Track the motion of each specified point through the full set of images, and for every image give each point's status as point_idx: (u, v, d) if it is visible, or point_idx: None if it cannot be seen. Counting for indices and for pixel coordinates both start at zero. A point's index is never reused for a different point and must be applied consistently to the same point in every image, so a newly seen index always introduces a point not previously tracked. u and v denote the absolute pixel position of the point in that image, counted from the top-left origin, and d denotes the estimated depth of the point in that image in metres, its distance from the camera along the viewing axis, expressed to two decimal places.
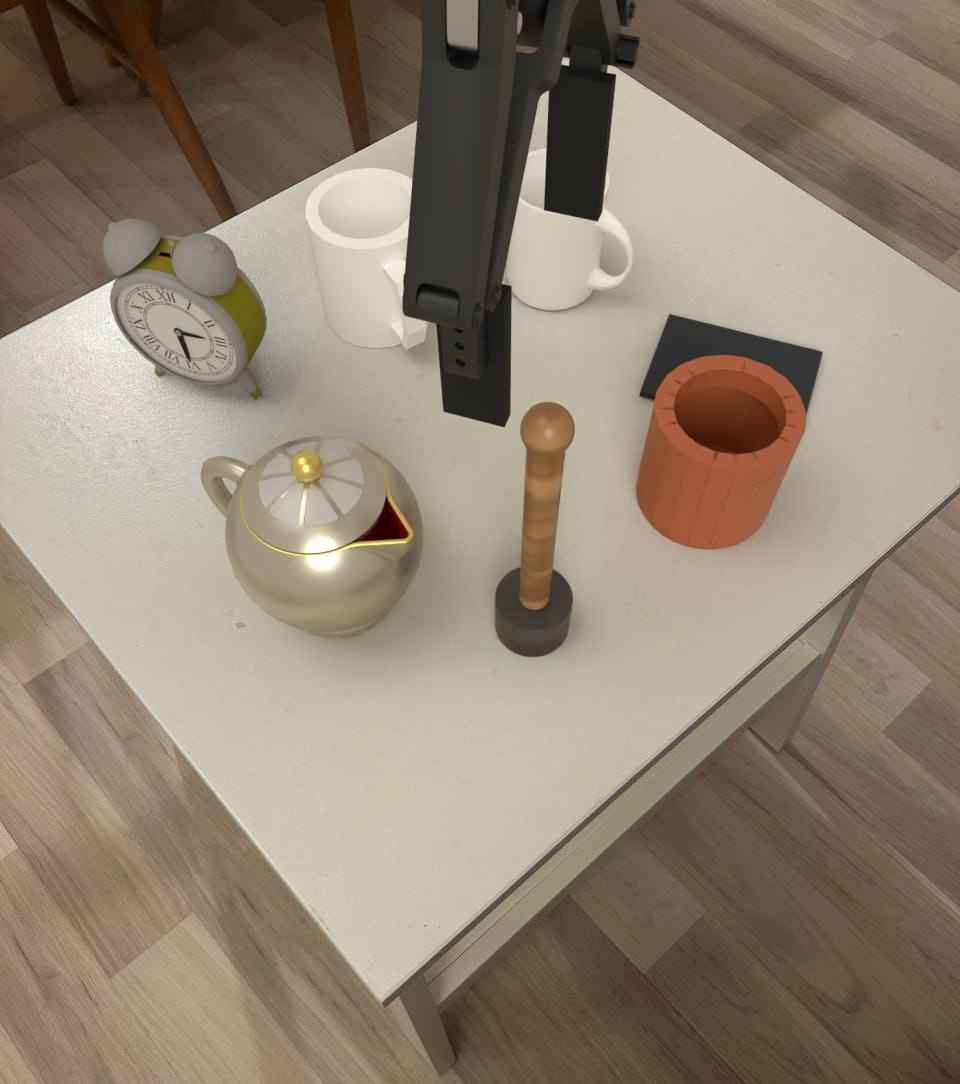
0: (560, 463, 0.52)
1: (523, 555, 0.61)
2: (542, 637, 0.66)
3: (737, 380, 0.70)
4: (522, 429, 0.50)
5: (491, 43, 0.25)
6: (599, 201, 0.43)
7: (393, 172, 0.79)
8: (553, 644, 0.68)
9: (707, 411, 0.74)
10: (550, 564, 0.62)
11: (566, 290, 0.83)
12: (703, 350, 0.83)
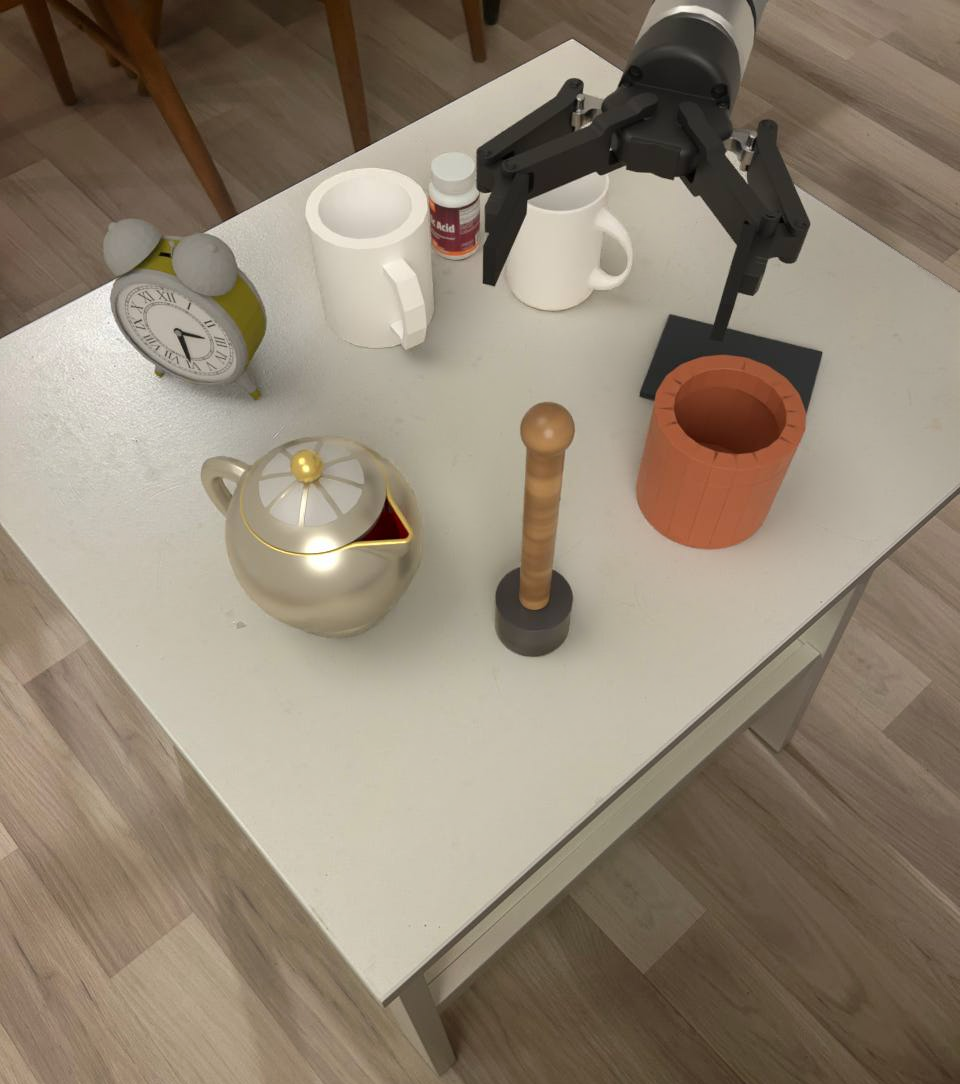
0: (560, 463, 0.52)
1: (523, 555, 0.61)
2: (542, 637, 0.66)
3: (737, 380, 0.70)
4: (522, 429, 0.50)
5: None
6: (725, 289, 0.51)
7: (393, 172, 0.79)
8: (553, 644, 0.68)
9: (707, 411, 0.74)
10: (550, 564, 0.62)
11: (566, 290, 0.83)
12: (703, 350, 0.83)
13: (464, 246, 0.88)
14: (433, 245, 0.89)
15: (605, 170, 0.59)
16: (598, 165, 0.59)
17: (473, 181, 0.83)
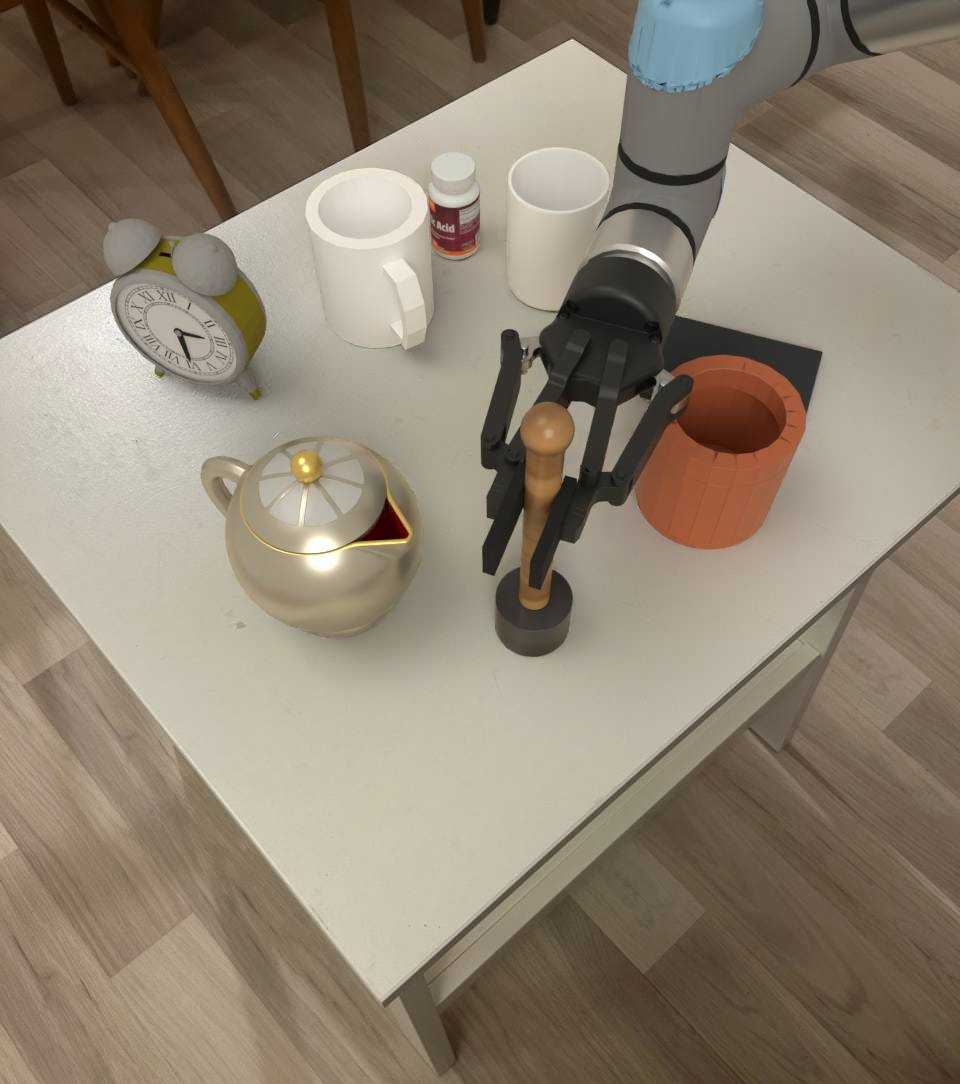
0: (560, 463, 0.52)
1: (523, 555, 0.61)
2: (542, 637, 0.66)
3: (737, 380, 0.70)
4: (522, 429, 0.50)
5: (502, 351, 0.61)
6: (536, 547, 0.53)
7: (393, 172, 0.79)
8: (553, 644, 0.68)
9: (707, 411, 0.74)
10: None
11: (566, 290, 0.83)
12: (703, 350, 0.83)
13: (464, 246, 0.88)
14: (433, 245, 0.89)
15: (566, 408, 0.61)
16: None
17: (473, 181, 0.83)
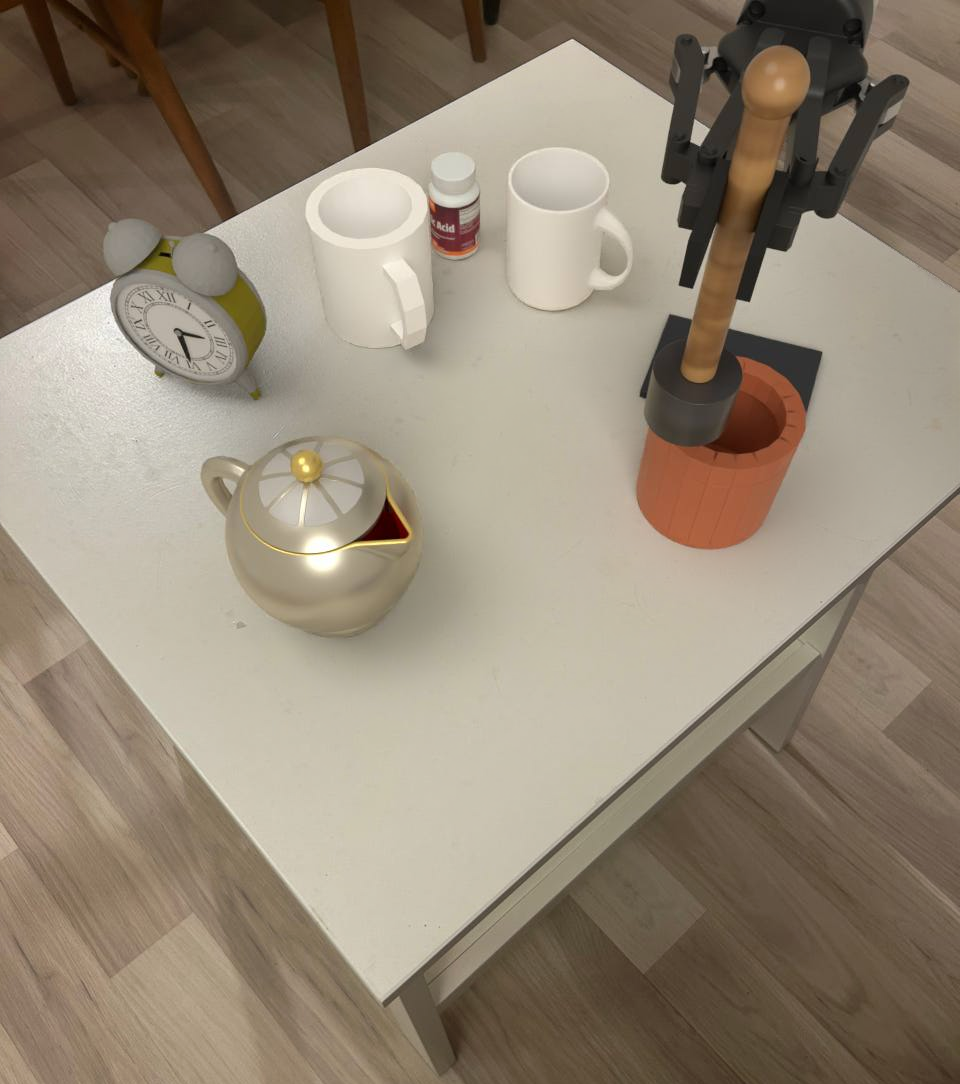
0: (783, 135, 0.44)
1: (703, 297, 0.53)
2: (709, 415, 0.58)
3: None
4: (748, 79, 0.42)
5: (679, 57, 0.52)
6: (753, 240, 0.44)
7: (393, 172, 0.79)
8: (716, 430, 0.60)
9: None
10: (732, 310, 0.53)
11: (566, 290, 0.83)
12: None
13: (464, 246, 0.88)
14: (433, 245, 0.89)
15: None
16: None
17: (473, 181, 0.83)
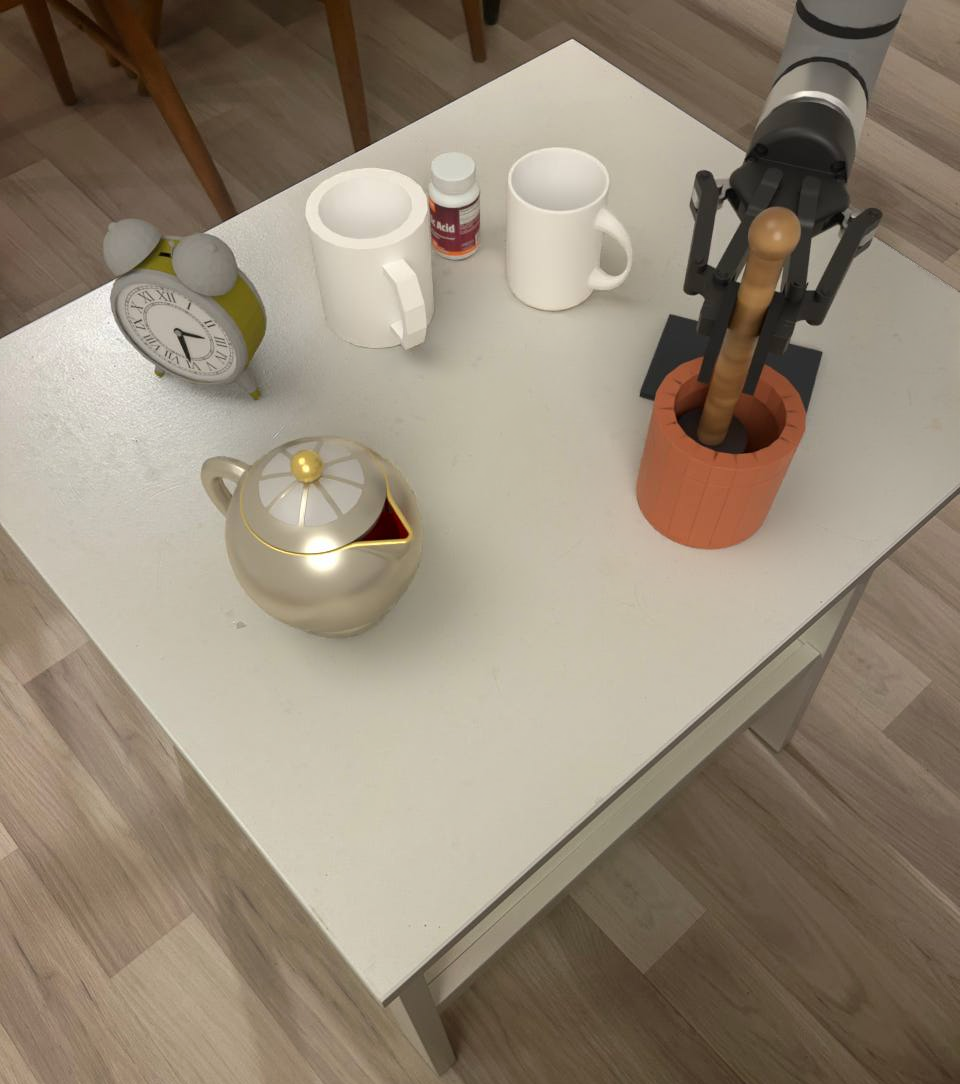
0: (780, 270, 0.57)
1: (716, 382, 0.65)
2: None
3: None
4: (753, 232, 0.55)
5: (698, 190, 0.65)
6: (756, 350, 0.57)
7: (393, 172, 0.79)
8: None
9: None
10: (739, 392, 0.66)
11: (566, 290, 0.83)
12: (703, 350, 0.83)
13: (464, 246, 0.88)
14: (433, 245, 0.89)
15: None
16: None
17: (473, 181, 0.83)
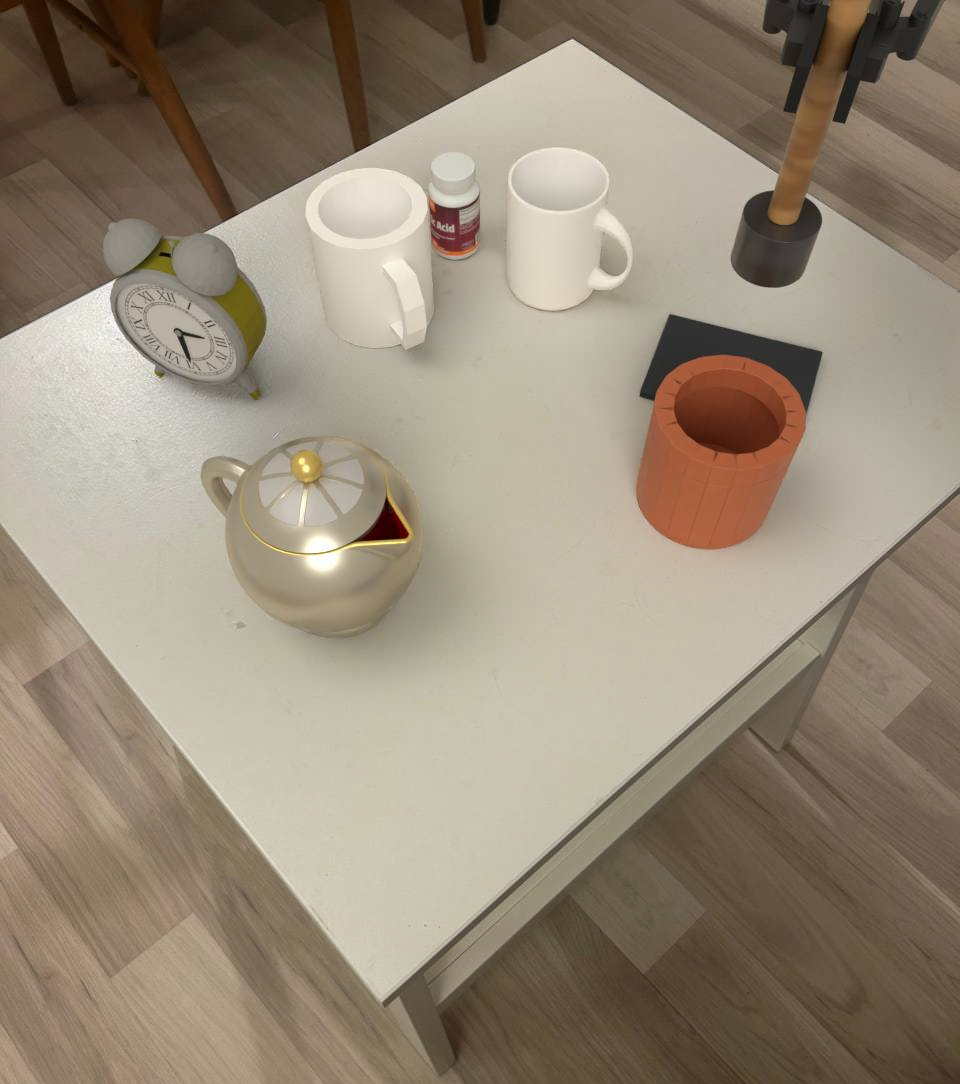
0: None
1: (795, 137, 0.61)
2: (792, 253, 0.66)
3: (737, 380, 0.70)
4: None
5: None
6: (851, 65, 0.52)
7: (393, 172, 0.79)
8: (797, 271, 0.68)
9: (707, 411, 0.74)
10: (820, 150, 0.61)
11: (566, 290, 0.83)
12: (703, 350, 0.83)
13: (464, 246, 0.88)
14: (433, 245, 0.89)
15: None
16: None
17: (473, 181, 0.83)
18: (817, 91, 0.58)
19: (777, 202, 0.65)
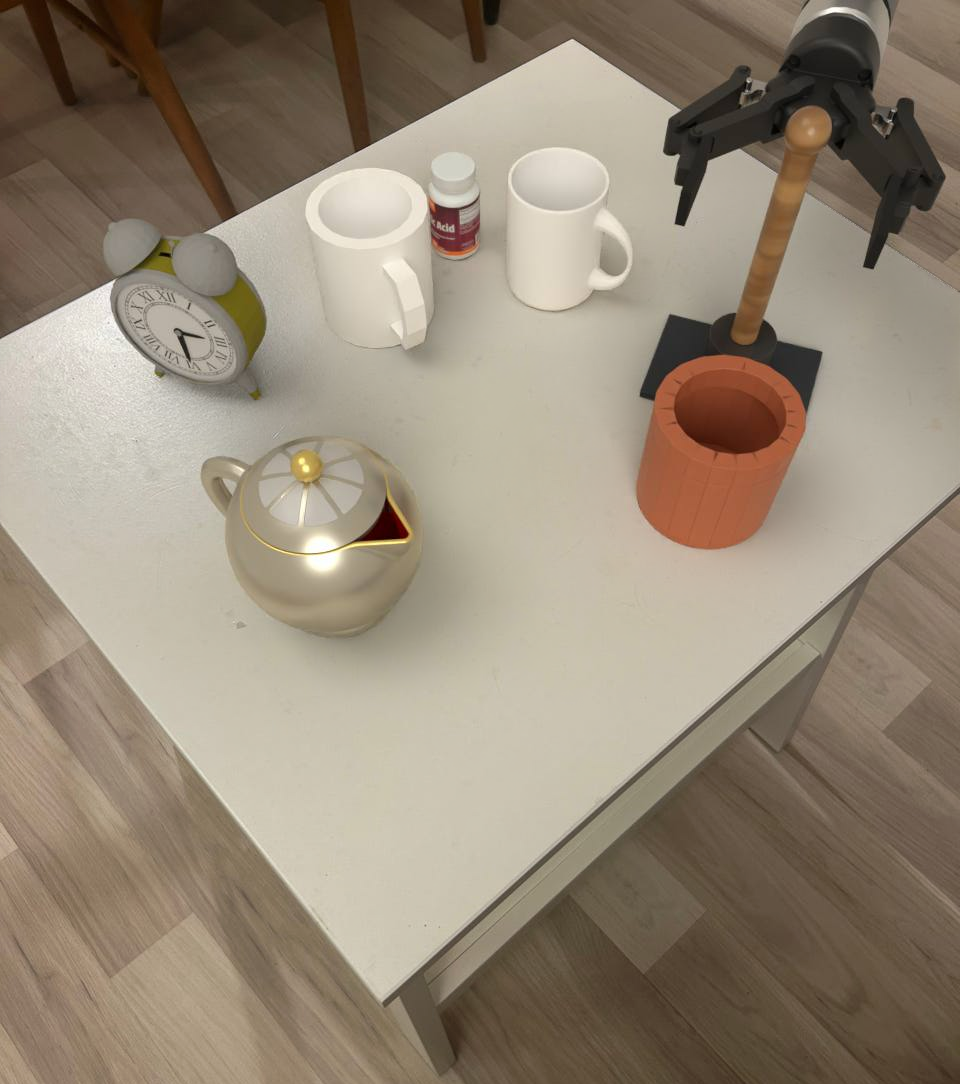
0: (812, 166, 0.63)
1: (751, 279, 0.72)
2: None
3: (737, 380, 0.70)
4: (789, 128, 0.61)
5: None
6: (879, 225, 0.63)
7: (393, 172, 0.79)
8: None
9: (707, 411, 0.74)
10: (772, 289, 0.73)
11: (566, 290, 0.83)
12: (703, 350, 0.83)
13: (464, 246, 0.88)
14: (433, 245, 0.89)
15: (767, 140, 0.72)
16: (763, 134, 0.72)
17: (473, 181, 0.83)
18: (767, 247, 0.69)
19: (738, 327, 0.76)
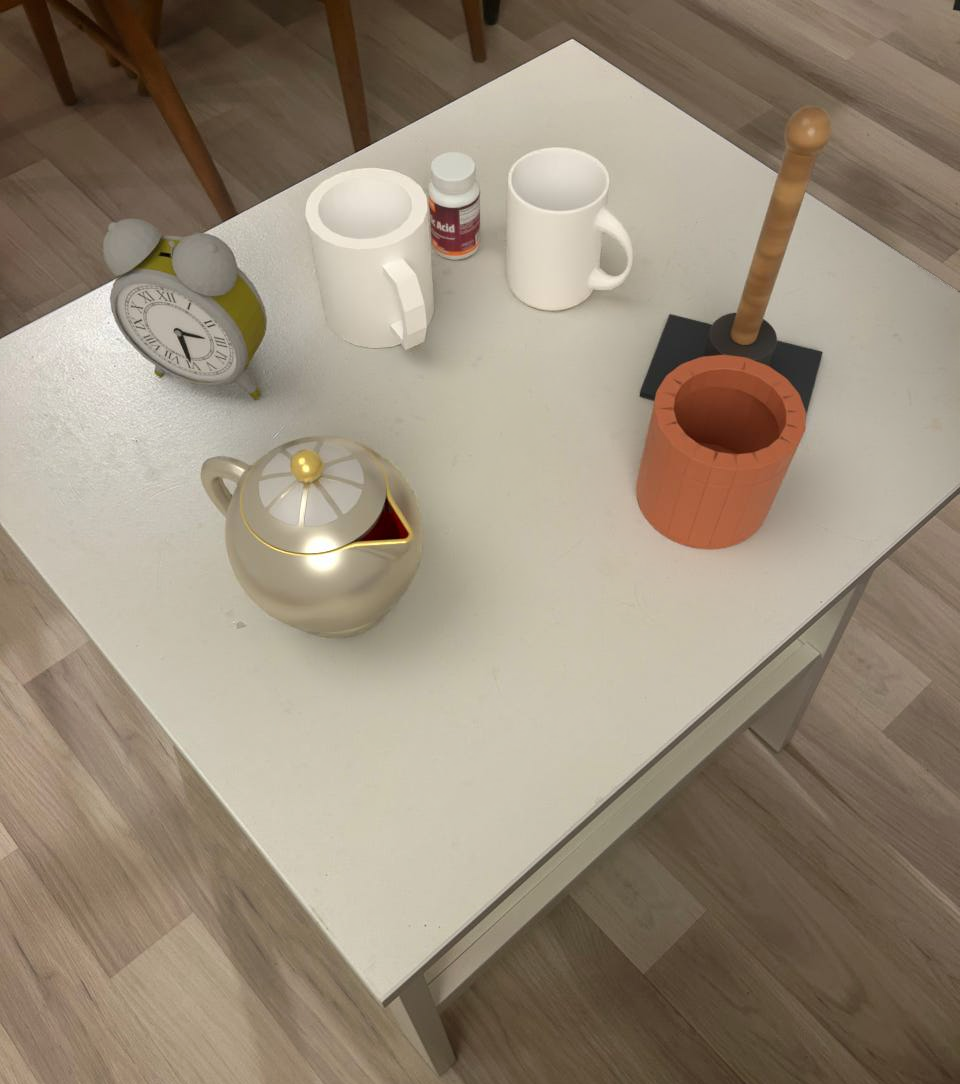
0: (812, 166, 0.63)
1: (751, 279, 0.72)
2: None
3: (737, 380, 0.70)
4: (789, 128, 0.61)
5: None
6: None
7: (393, 172, 0.79)
8: None
9: (707, 411, 0.74)
10: (772, 289, 0.73)
11: (566, 290, 0.83)
12: (703, 350, 0.83)
13: (464, 246, 0.88)
14: (433, 245, 0.89)
15: None
16: None
17: (473, 181, 0.83)
18: (767, 247, 0.69)
19: (738, 327, 0.76)
